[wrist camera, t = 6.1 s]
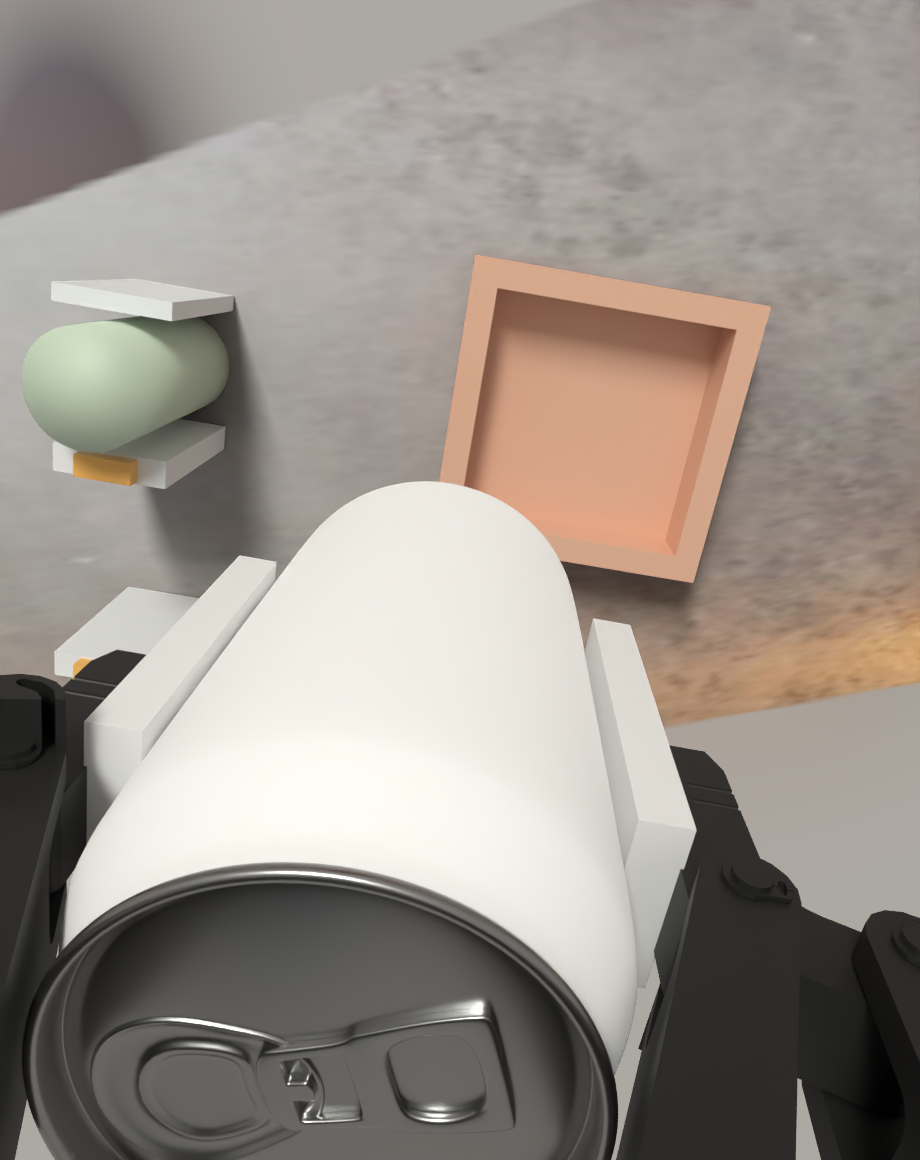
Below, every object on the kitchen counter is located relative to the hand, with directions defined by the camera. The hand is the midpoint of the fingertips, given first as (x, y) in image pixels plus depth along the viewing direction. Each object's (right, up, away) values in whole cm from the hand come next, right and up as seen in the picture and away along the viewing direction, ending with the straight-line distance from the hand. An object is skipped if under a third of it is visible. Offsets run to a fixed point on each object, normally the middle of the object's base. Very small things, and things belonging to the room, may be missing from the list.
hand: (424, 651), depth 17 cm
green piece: (-11, +11, +18) cm, 24 cm away
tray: (+6, +8, +18) cm, 21 cm away
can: (0, +1, +2) cm, 2 cm away
